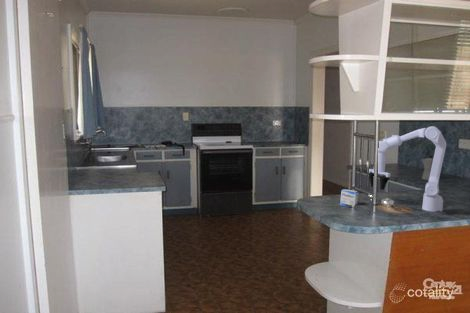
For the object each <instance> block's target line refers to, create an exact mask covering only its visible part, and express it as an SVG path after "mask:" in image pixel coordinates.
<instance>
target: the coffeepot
mask: <svg viewBox="0 0 470 313" xmlns="http://www.w3.org/2000/svg"><path fill="white" fill-rule="evenodd" d="M420 161H421V162H422V164H423V168H424V170H423V173H422V175H421V180H424V181H429V177H430V172H431V168H432V163H433V156H432V155H429V158H421V159H420ZM443 165H444V162H443V163H442V166H443Z"/></svg>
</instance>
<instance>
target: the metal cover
mask: <svg viewBox="0 0 470 313" xmlns="http://www.w3.org/2000/svg"><path fill="white" fill-rule="evenodd" d="M394 202H395V201H394V200H392V199H391V198H389V197H386V198H382V199H381V202H380V204H381V206H383V207H389V208H391V207H393V205H395V204H394Z"/></svg>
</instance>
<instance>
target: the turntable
mask: <svg viewBox="0 0 470 313" xmlns="http://www.w3.org/2000/svg"><path fill="white" fill-rule="evenodd" d="M375 208H376V209H379V210H380V211H384V212H387V213H394V214H411V213H414V210H413V208H410V207H407V206H405V205H399V204H394V205H393V207H391V208H389V207H383V206H381V203H380V204H377V205H375Z"/></svg>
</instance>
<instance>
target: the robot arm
mask: <svg viewBox="0 0 470 313" xmlns="http://www.w3.org/2000/svg"><path fill="white" fill-rule="evenodd" d="M416 138H422V139H423V138H426V139H428V140H429V141H431V142H432V143H433V144H434V145H435V149H434V154H433V157H432V159H433V163H432V168H431V172H430V177H429V180H427V182H426V183H425V185H424V186H425V188H424V193H423V198H422V206H421V207H422V208H421V209H422V210H423V211H426V212H432V213H433V212H434V213H435V212H441V213H442V212H443V206H444V200H443V199H444V198H443V197H442V196H441V195H439V192H440V186H439V182H440V176H441V172H442V167H443V165H442V163H443V164H444V157H445V153H446V148H447V142H446V139H445V137H444V135H443V134H442V131H441V130H440V129H439V128H438V127H436V126H434V125H432V126H428V127H422V128H418V129H416V130H413V131H411V132H408V133H406V134H403V135H401V136H400V135H398V134H396V135H395V134H392V135H391V136H390V137H387V138H385V137H384V138H382V140H379V141H378V142H379V148H378V176H379V177H378V178H379V182H380V183H379V188H380V190H381V191H383V190H385V187H386V186H387V183H388V182H389V180H390V178H391V173H389V172H386V162H387V161H386V160H387V150H390V149H394V148H397V147H400V146H402V143H403V142H407V141H408V140H413V139H416ZM368 169H369V173H368V174H369V177H368V178H369V182H370V187H371V188H374V187H373V176H374V168H368Z"/></svg>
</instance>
